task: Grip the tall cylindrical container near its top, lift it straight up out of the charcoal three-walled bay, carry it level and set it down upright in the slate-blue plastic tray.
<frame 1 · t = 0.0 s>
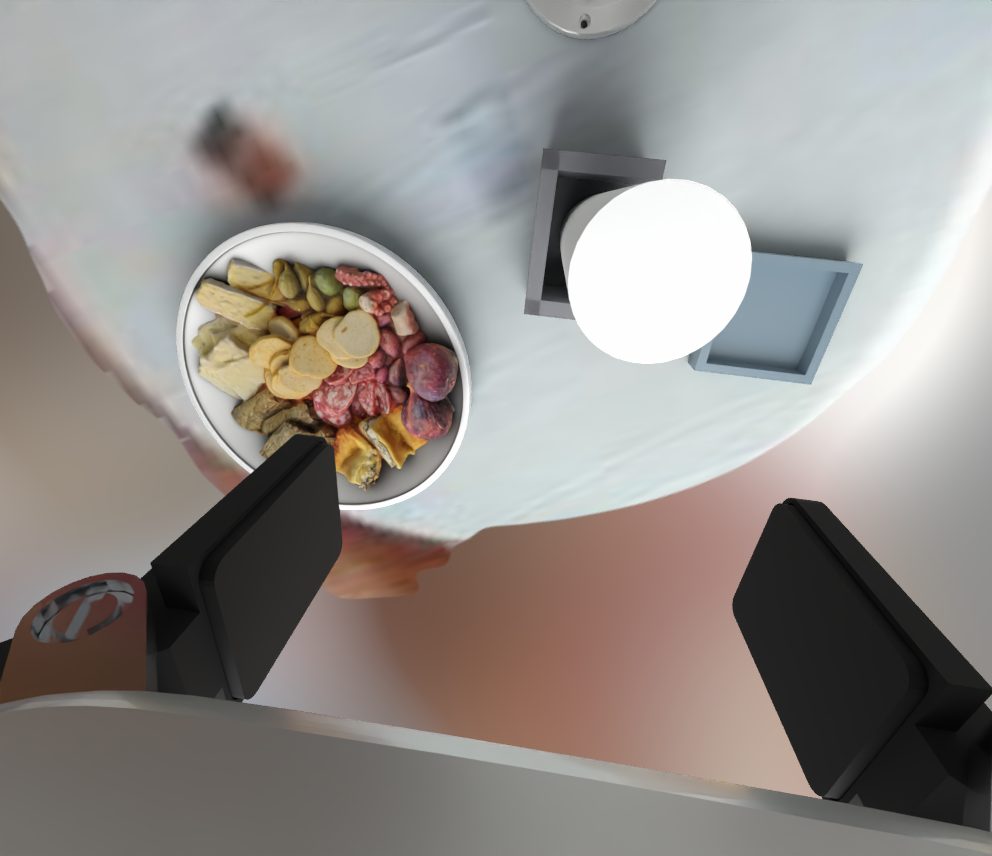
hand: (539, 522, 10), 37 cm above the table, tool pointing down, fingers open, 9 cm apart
tray: (761, 314, 42), on the table
cylindrical container: (599, 238, 41), on the table
bowl: (342, 370, 50), on the table
bay: (599, 238, 41), on the table
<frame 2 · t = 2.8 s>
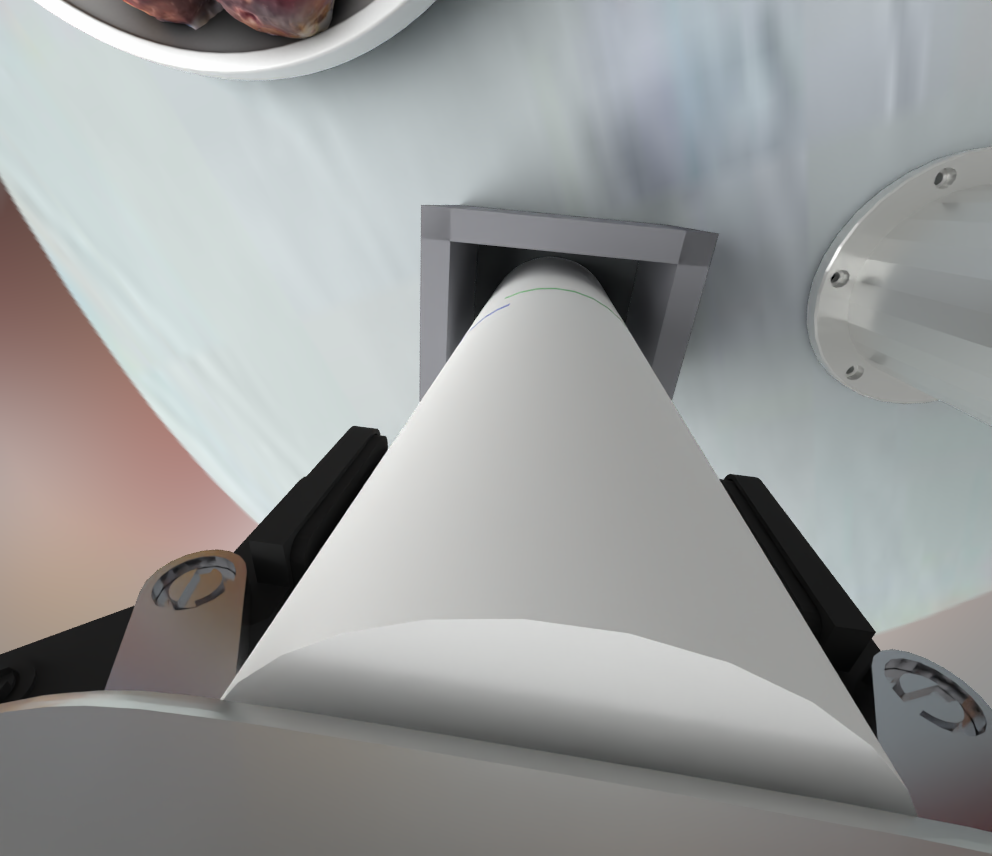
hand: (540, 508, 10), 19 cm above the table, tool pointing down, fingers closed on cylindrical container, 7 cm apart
cylindrical container: (548, 319, 27), on the table, touching gripper
bay: (548, 320, 27), on the table
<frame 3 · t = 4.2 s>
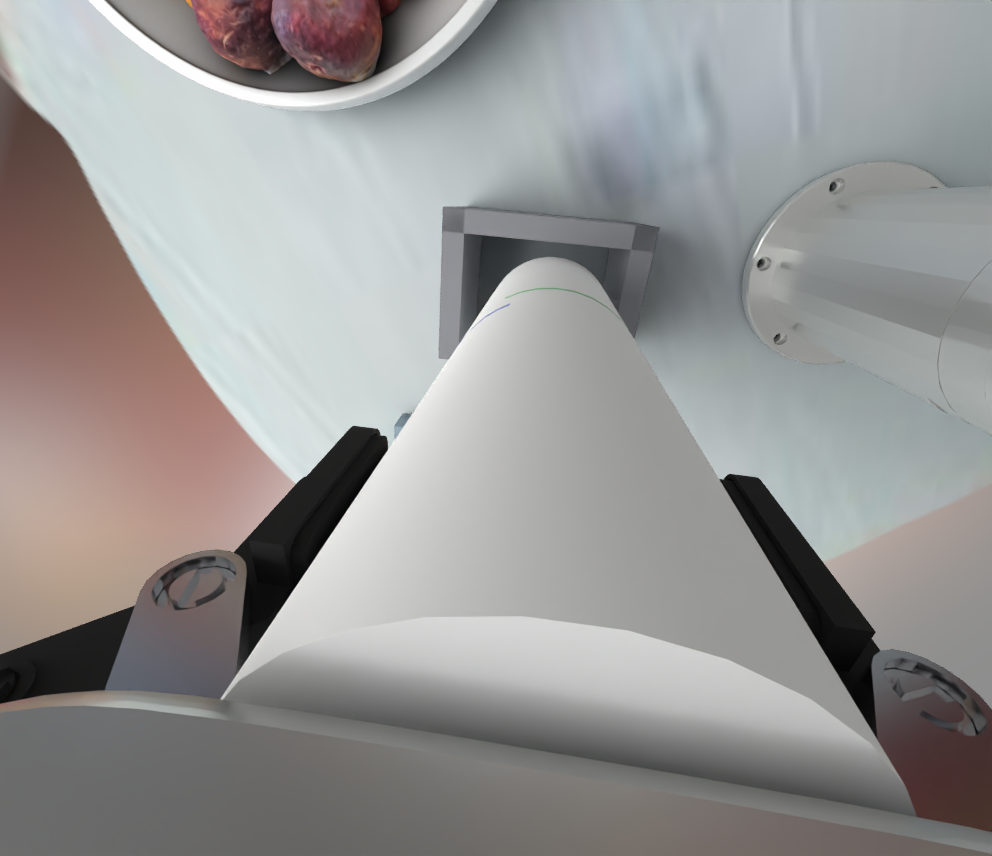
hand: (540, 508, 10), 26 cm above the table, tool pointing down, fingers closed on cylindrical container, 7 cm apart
cylindrical container: (548, 319, 27), point 7 cm above the table, touching gripper
bay: (538, 299, 33), on the table
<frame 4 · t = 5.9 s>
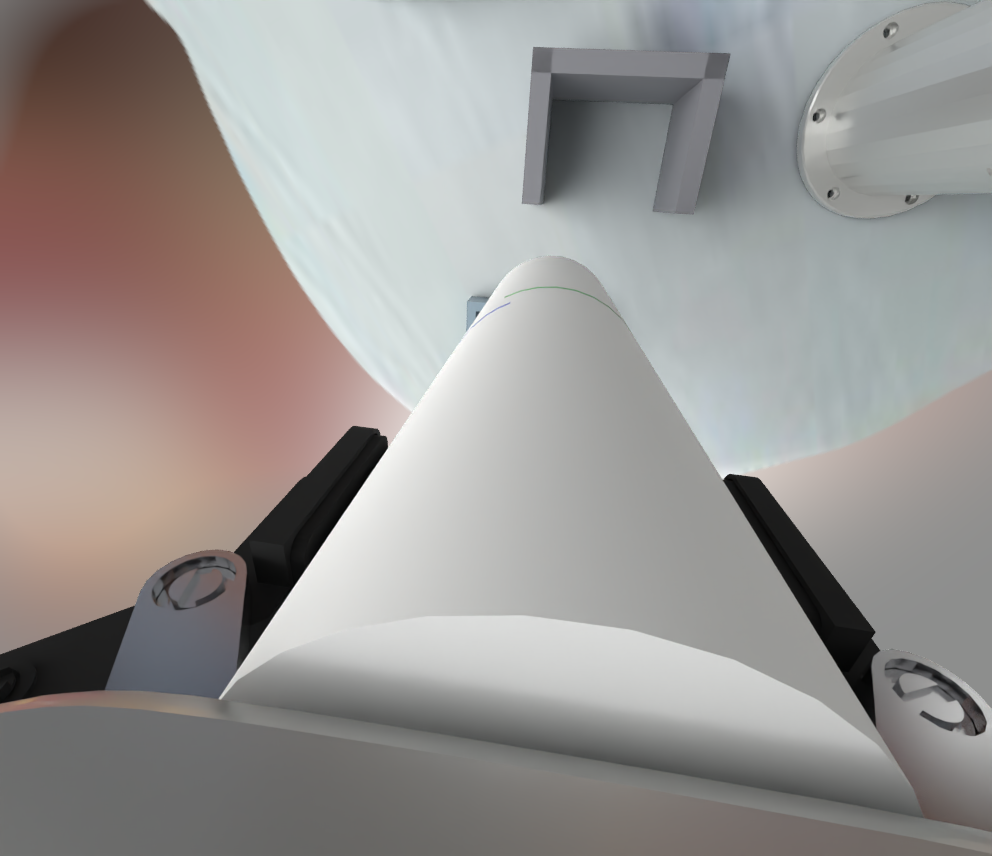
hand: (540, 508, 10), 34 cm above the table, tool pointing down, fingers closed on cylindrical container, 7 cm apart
tray: (523, 356, 44), on the table
cylindrical container: (548, 318, 27), point 15 cm above the table, touching gripper
bay: (602, 170, 36), on the table
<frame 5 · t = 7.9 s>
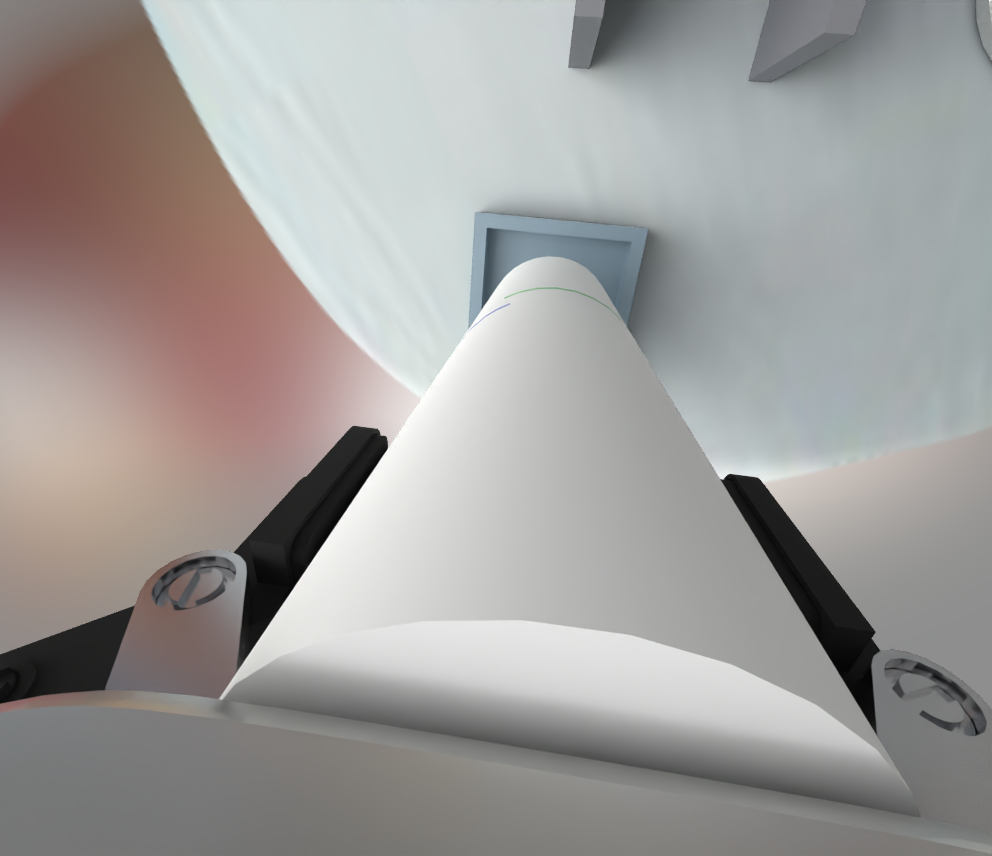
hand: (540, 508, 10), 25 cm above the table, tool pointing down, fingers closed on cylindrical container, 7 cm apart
tray: (549, 301, 32), on the table
cylindrical container: (548, 319, 27), point 6 cm above the table, touching gripper
bay: (680, 13, 25), on the table
when the fingers open (20 cm above the table, at t = 9.4 s): cylindrical container stays where it is, resting on tray.
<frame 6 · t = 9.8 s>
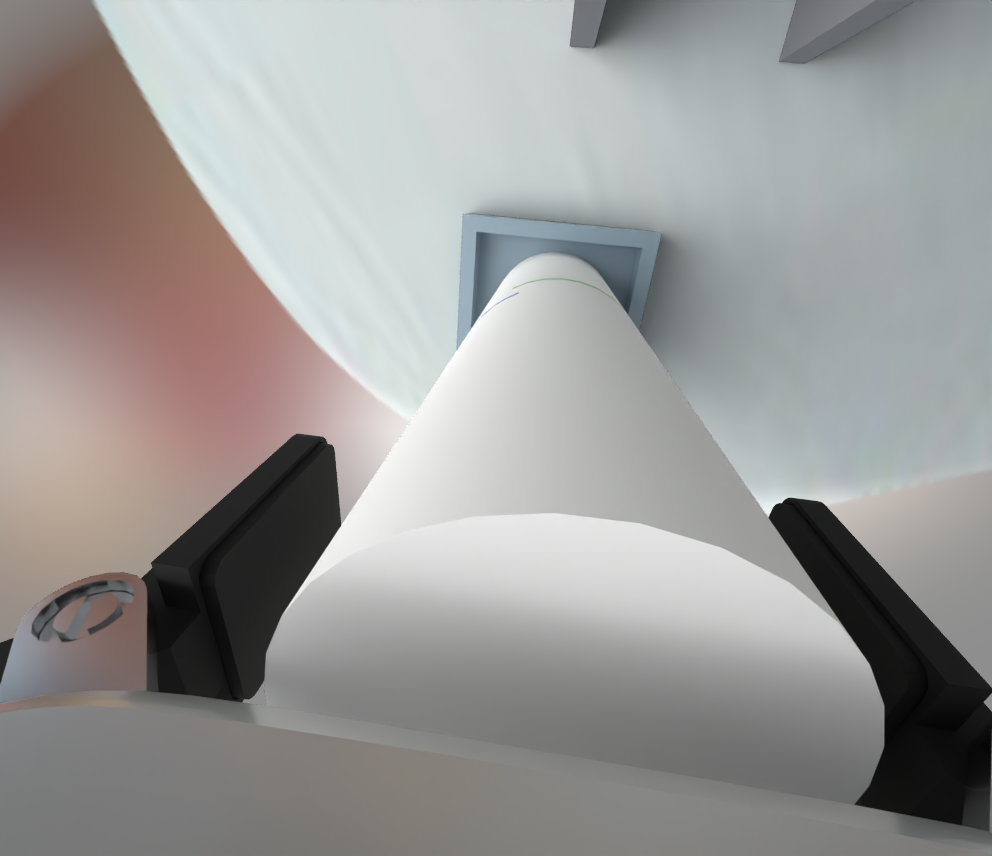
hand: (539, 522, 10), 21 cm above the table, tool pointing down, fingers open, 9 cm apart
tray: (547, 313, 29), on the table
cylindrical container: (551, 313, 28), point 1 cm above the table, touching tray
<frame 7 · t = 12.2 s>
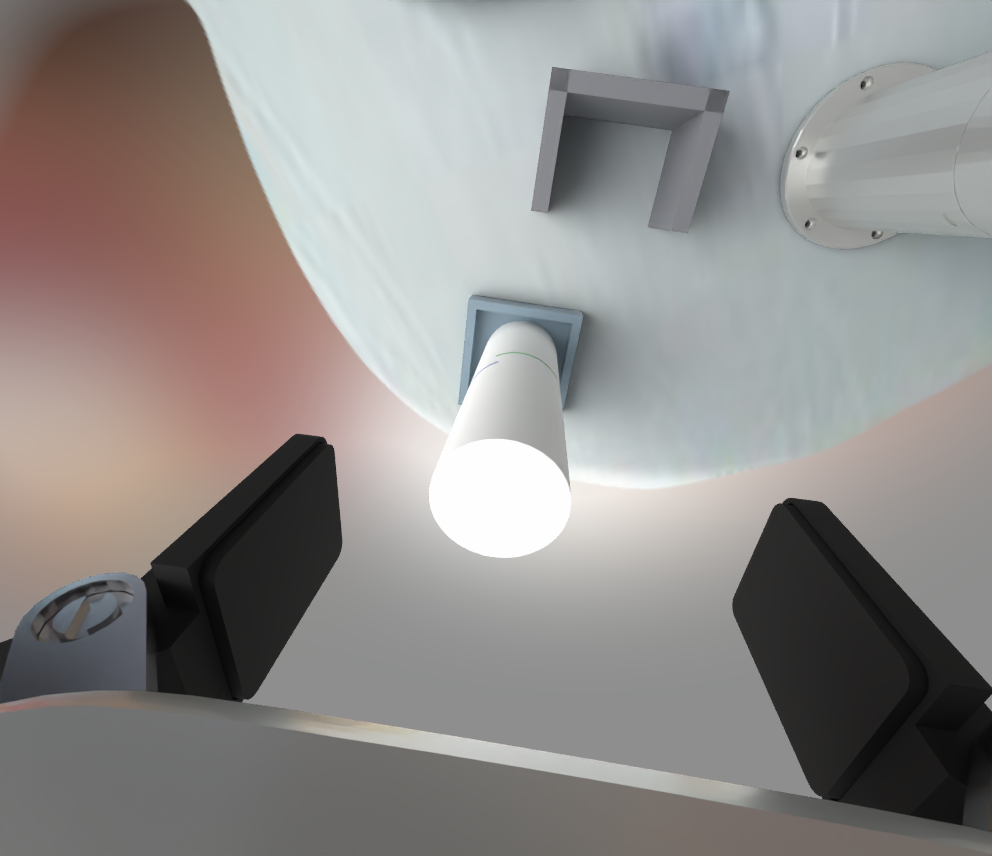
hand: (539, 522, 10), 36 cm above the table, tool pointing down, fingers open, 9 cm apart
tray: (518, 355, 46), on the table
cylindrical container: (520, 355, 45), point 1 cm above the table, touching tray
bay: (604, 185, 39), on the table
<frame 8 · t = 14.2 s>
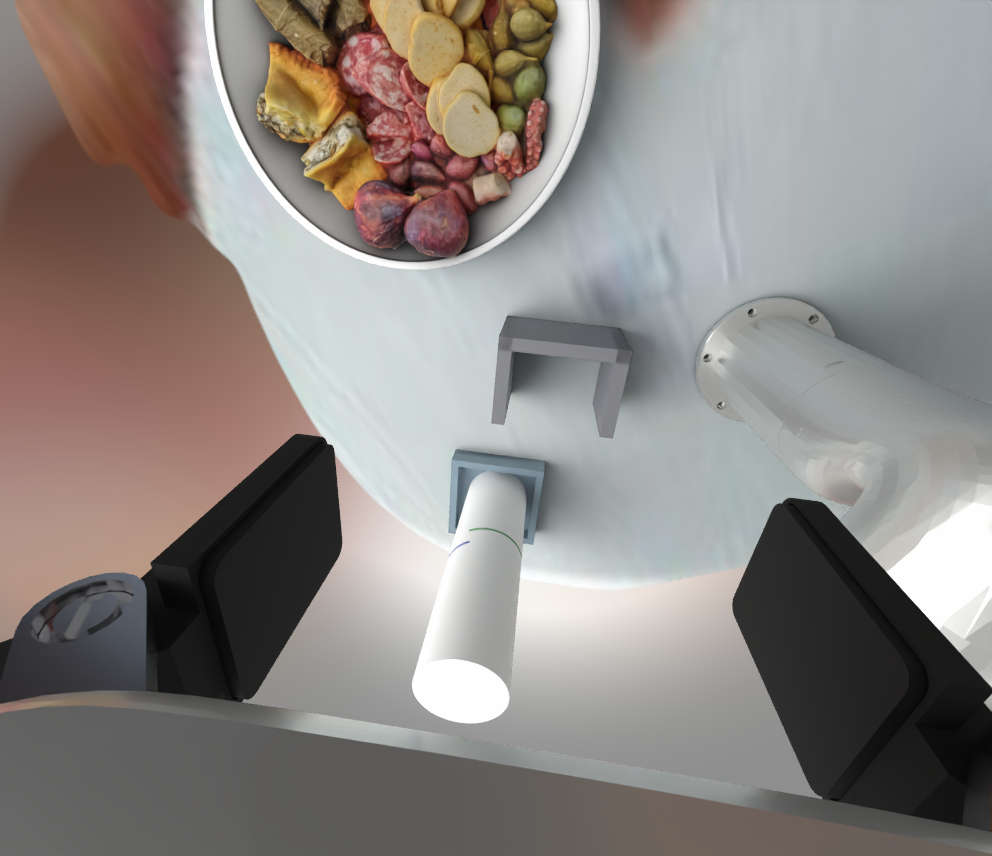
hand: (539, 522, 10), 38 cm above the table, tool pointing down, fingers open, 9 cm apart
tray: (496, 492, 56), on the table
cylindrical container: (497, 494, 55), point 1 cm above the table, touching tray
bowl: (415, 77, 39), on the table
bay: (555, 375, 48), on the table
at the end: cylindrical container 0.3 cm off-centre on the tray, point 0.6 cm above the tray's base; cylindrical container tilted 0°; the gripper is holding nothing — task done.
